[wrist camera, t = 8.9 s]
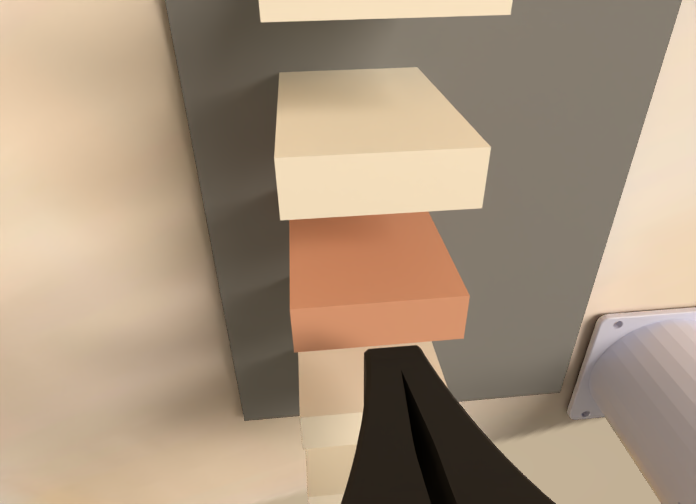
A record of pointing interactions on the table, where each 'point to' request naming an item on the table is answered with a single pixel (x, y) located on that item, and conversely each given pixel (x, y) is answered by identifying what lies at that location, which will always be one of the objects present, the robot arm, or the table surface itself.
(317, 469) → the domino
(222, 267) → the mat
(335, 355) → the domino
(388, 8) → the domino
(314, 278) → the terracotta domino
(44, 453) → the table surface
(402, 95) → the domino
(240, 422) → the table surface
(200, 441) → the table surface
